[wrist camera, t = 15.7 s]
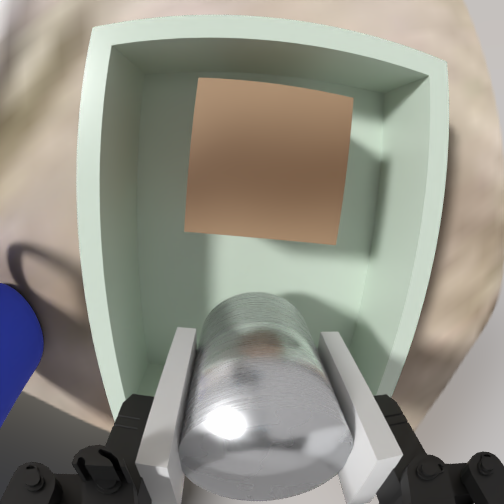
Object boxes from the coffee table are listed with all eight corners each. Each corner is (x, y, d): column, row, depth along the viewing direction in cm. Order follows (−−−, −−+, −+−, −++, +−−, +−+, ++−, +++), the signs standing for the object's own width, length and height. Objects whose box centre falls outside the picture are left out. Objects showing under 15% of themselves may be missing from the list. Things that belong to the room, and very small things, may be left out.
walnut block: (211, 105, 13) (198, 77, 8) (317, 117, 14) (353, 97, 9) (201, 208, 15) (184, 231, 10) (305, 218, 15) (335, 245, 10)
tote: (131, 61, 13) (92, 27, 8) (394, 83, 14) (446, 61, 9) (137, 368, 18) (114, 422, 13) (352, 374, 19) (378, 426, 14)
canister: (199, 289, 13) (168, 402, 6) (314, 293, 13) (374, 399, 7) (201, 380, 14) (185, 497, 8) (300, 382, 15) (330, 495, 8)
